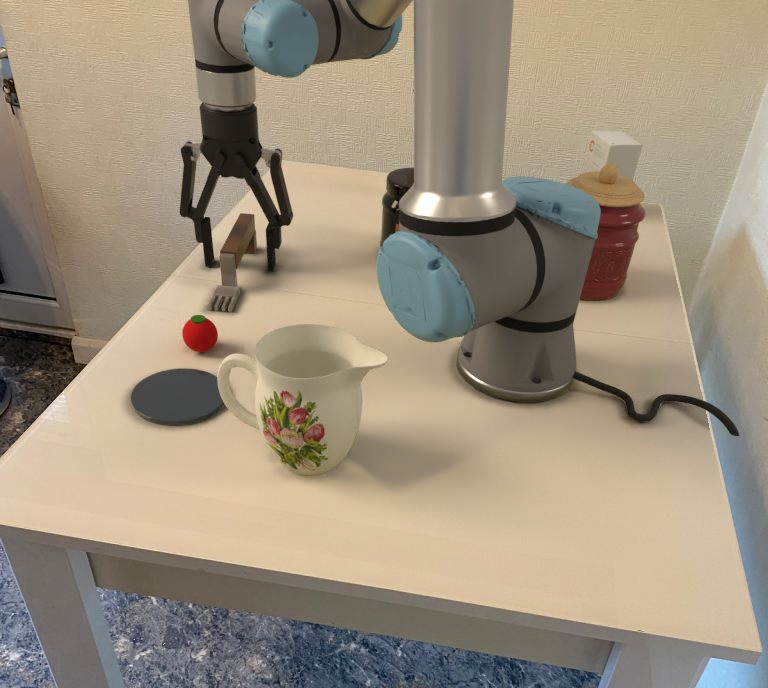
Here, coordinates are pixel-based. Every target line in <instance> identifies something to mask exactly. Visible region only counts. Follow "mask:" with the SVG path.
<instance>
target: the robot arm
mask: <svg viewBox="0 0 768 688" xmlns="http://www.w3.org/2000/svg"><path fill="white" fill-rule="evenodd" d="M412 2H413V89H414V92H413V168H414V184H413V186H412V187H411V188H410V189H409V190H408V191H407V193H406V194H405V195H404V196H403V197H402V198H401V199H400V201H399V231H398V232H396V233H394V234H391V235H390V236H389V237H388V238H387V239H386V240H385V241H384V243H383V246H382V247H381V248H380V247H379V249H378V252H377V256H376V263H375V269H376V271H375V272H376V276H377V284H378V287H379V291H380V294H381V297H382V299H383V301H384V303H385V305H386V308H387V309H388V311H389V312H390V313H391V314H392V316H393V318H394V319H395V321H396V322H397V324H399V326H400V327H402V329H404V331H406V333H408V334H410V335H411V336H412V337H414V338H416V339H418V340H420V341H423V342H427V343H441V342H445V341H448V340H450V339H454V338H462V337H463V338H462V340H461V342H460V344H459V347H458V351H457V357H456V369H457V371H458V373H459V375H460V377H462V379H463V380H464V381H465V382H466V383H467V384H468V385H469V386H471V387H473V388H474V389H476V390H477V391H479V392H481V393H483V394H486V395H488V396H491V397H494V398H497V399H500V400H504V401H509V402H518V403H537V402H538V403H539V402H544V401H549V400H553V399H555V398H559V397H560V396H563V395H564V394H565V393H566V392H568V391H569V390H570V388H571V387H572V386H573V383H574V380H576V381H578V382H581V383H583V384H586V385H588V386H591V387H593V388H595V389H597V390H601V392H605V393H608V394H611V395H614V396H615V397H617V398H619V399H620V400H622V401H623V403H624V404H625V407H626V413H627V415H628V417H629V418H630V419H631V420H633V421H636V422H640V423H647V422H651V421H652V420H654V419H655V418H656V416H657V415H658V413H659V410H660V407H661V404H663V403H665V402H672V403H682V404H687V405H692V406H695V407H698V408H700V409H703V410H705V411H707V412H708V413H710V414H711V415H712V416H714V417H715V419H717V420H718V421H719V422H721V424H722V425H723V426H724V427H725V428H726V429H727V431H728V433H729V434H730V435H731V436H734V437H740V432H739V429H738V428H737V426H736V425H735V423H734V422H733V421H732V419H731V418H730V417H729V416H728V415H727V414H726V413H725V412H723V410H722V409H720V408H718V406H716V405H714V404H712V403H710V402H708V401H705V400H704V399H701V398H698V397H694V396H689V395H685V394H676V393H675V394H674V393H663V394H659V395H658V396H657V397H655V399H654V400H653V402H652V403H651V406H650V408H649V411H648V412H647V413H645V414H644V413H639V412H637V411H636V409H635V403H634V400H633V398H632V396H630V394H628V392H626V391H624V390H623V389H620V388H619V387H616V386H614V385H611V384H608V383H606V382H603V381H600V380H597V379H595V378H592V377H590V376H589V375H586V374H584V373H580V372H579V371H577V363H578V362H577V361H578V360H577V349H576V339H575V338H576V337H575V330H574V329H575V328H574V322H575V319H576V315H577V310H578V307H579V303H580V300H581V299H580V296H581V292H582V288H583V284H584V281H585V277H586V273H587V269H588V266H589V262H590V258H591V255H592V251H593V247H594V243H595V240H596V239H597V237H598V234H597V230H598V225H599V220H600V214H601V210H600V206H599V204H598V203H597V201H596V200H595V198H593V197H592V196H591V195H590V194H588V193H586V192H584V191H582V190H580V189H578V188H575V187H573V186H570V185H567V184H566V183H563V182H560V181H558V180H557V181H556V180H553V179H547V178H542V177H541V178H540V177H534V176H527V175H525V176H524V175H523V176H520V175H519V176H509V177H506V178H503V170H504V169H503V168H504V157H505V156H504V155H505V154H504V153H505V138H506V127H507V126H506V125H507V124H506V123H507V110H508V109H507V108H508V96H509V95H508V93H509V81H510V80H509V79H510V65H511V50H512V49H511V48H512V35H513V33H512V32H513V17H514V5H515V4H514V3H515V0H187V5H188V13H189V21H190V22H189V23H190V32H191V39H192V40H191V41H192V47H193V56H194V67H195V75H196V86H197V98H198V100H199V101H200V102H201V104H200V105H199V117H200V123H201V124H200V125H201V134H202V138H201V142H199V143H197V142H196V143H193V142H192V141H190V140H188V141H186V142H185V143H184V144H183V146H181V148H180V155H181V159H182V161H183V162H182V163H183V167H182V168H183V169H182V179H181V180H182V181H181V190H180V191H181V192H180V203H179V215H180V216H181V217H182V218H187V219H190V220H191V221H192V222H193V226H194V235H195V240H196V243H198V244H202V249H203V258H204V266H205V267H206V268H210V267H212V264H213V263H214V261H215V253H214V242H213V233H212V232H213V231H212V223H211V216H205V214H206V211H207V209H208V207H209V204H210V201H211V199H212V197H213V194H214V192H215V189H216V186H217V184H218V181H219V179H220V177H221V178H235V179H239V180H245V183H246V184H247V186H249V188H250V189H251V191H252V193H253V195H254V197H255V199H256V202H257V203H258V204H259V206H260V209H261V210H262V212H263V215H264V216H265V218H266V220H267V222H268V223H267V225H266V228H265V241H266V260H267V261H266V262H267V272H268V273H273V272H274V270H275V267H276V266H277V259H276V258H277V257H276V250H280V248H281V246H282V243H283V241H282V227H285V226H287V227H289V226H291V223H292V221H293V219H294V212H293V208H292V204H291V200H290V196H289V192H288V189H287V184H286V180H285V176H284V172H283V168H282V164H283V163H282V162H283V151H282V149H281V148H275V149H273V150H272V149H269V148H264V147H263V146H262V144H261V141H260V137H259V122H258V121H259V119H258V107H257V105H256V104H255V102H256V100H257V86H256V85H257V84H256V69H255V68H257V69H258V70H260V71H261V72H263V73H267V74H269V75H270V76H274V77H281V78H287V79H293V78H297V77H300V76H301V75H302V74H303V73H304V72H306V71H307V70H308V69H309V68H311V66H315V65H323V64H326V63H336V62H343V61H353V60H370V59H373V58H375V57H377V56H383V55H387V54H388V53H391V51H392V50H394V49H395V48H396V45H397V44H398V43H399V36H400V33H401V32H402V30H403V13H404V12H405V11H406V10H407V8H408V7H409V6H410V5H411V4H412ZM201 155H202V156H203V157H204V159H206V160H207V162H208V164H209V165H210V166H211V167H210V170H209V172H208V175H207V178H206V181H205V183H204V185H203V186H204V187H203V189H202V192H201V194H200V196H199V199H198V202H197V204H196V206H193V204H194V203H193V202H194V192H195V182H196V173H197V161H198V160H199V159H200V157H201ZM261 159H263V160H264V162H265V166H267V168H269V174H270V178H271V179H270V180H271V182H272V187H273V190H274V195H275V197H276V198H275V199H276V201H277V206H278V209H277V207H276V204H275V203H274V201H273V199H272V197H271V194H270V193H269V191H268V189H267V187H266V184H265V182H264V181H263V179H262V177H261V173H260V171H259V169H258V167H257V164H258V162H259V161H260V160H261ZM278 210H279V211H278Z"/></svg>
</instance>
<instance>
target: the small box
mask: <svg viewBox="0 0 768 688" xmlns="http://www.w3.org/2000/svg"><path fill="white" fill-rule="evenodd" d="M642 148H643V143H642V144H641V143H640V142H639V141H638V140H636V139H635V138H633V137H631V136H630V135H628V134H626V133H625V132H624V131H623V130H592V131H591V132H590V137H589V141H588V145H587V149H586V154H585V158H584V161H583V167H582V170H581V174H582V173H586V172H600V171H601V169H602V168H603V166H605V165H607V164H613V165H615V166H616V167H617V168H618V172H619V174H618V175H621V176H624V177H627V178H629V179H631V180H632V181H634V178H635V173H636V171H637V166H638V163H639V158H640V155H641V152H642Z"/></svg>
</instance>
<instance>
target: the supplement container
mask: <svg viewBox="0 0 768 688" xmlns="http://www.w3.org/2000/svg"><path fill="white" fill-rule="evenodd" d="M413 184H414V167H401V168H397V169H394V170H392V171H390V172H389V173H388V174H387V175H386V185H385V188H386V192H385V193H384V194H383V196H382V199H381V204H382V213H381V230H380V241H379V249H380V248H381V247H382V246H383V243H384V241H385V240H386V239H387V238H388V237H389V236H390V235H391V234H394V233H396V232H398V231H399V201H400V199H401V198H402V197H403V196H404V195H405V194H406V193H407V191H408V190H409V189H410V188H411V187H412V186H413Z"/></svg>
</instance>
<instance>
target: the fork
mask: <svg viewBox="0 0 768 688" xmlns="http://www.w3.org/2000/svg"><path fill="white" fill-rule="evenodd" d="M255 219H256V218H255V214H254V213H243V212H240V213H239V215H238V216H237V218H236V221H235V222H234V224H233V226H232V228H231V230H230V232H229V233H228V235H227V237H226V239H225V240H224V243H223V245H222V246H221V249H220V251H219V252H220V253H219V257H218V258H219V259H218V260H219V268H220V278H221V279H220V281H221V285H220V284H218V285H217V286H216V288H215V290H214V292H213V294H212V296H211V299H210V301H209V303H208V305H207V309H208V311H212V310H213V308H214V311H216V312H217V311H219V310H220V307H221V311H222V312H225V311H226V310H227V311H228V312H233V309H234V308H235V304H236V303H237V300H238V298H239V296H240V294H241V287H240V286H238V273H237V269H238V267H239V266H240V263H241V261H242V259H243V257H244V255H245V254H251V255H252V254H253V255H255V254H256V252H257V250H258V241H257V240H258V239H257V230H256V220H255Z"/></svg>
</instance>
